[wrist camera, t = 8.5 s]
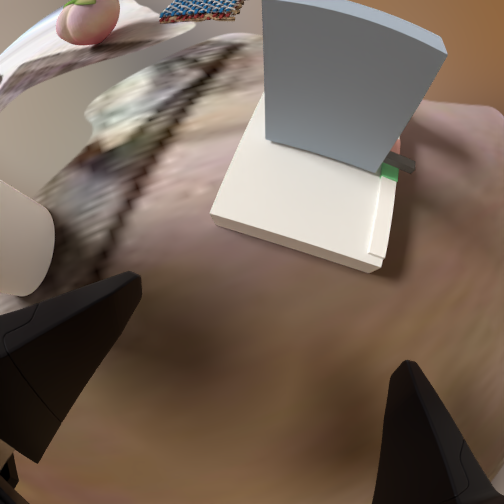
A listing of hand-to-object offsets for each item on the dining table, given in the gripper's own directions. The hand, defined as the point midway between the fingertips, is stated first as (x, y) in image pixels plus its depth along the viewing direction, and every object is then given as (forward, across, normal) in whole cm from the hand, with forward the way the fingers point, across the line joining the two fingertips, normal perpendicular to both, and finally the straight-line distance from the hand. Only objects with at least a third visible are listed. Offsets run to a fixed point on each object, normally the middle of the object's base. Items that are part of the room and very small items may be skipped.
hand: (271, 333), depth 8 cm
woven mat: (+30, +19, -19) cm, 40 cm away
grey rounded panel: (+12, -1, -5) cm, 13 cm away
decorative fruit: (+24, +31, -13) cm, 41 cm away
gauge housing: (+14, 0, -4) cm, 15 cm away
